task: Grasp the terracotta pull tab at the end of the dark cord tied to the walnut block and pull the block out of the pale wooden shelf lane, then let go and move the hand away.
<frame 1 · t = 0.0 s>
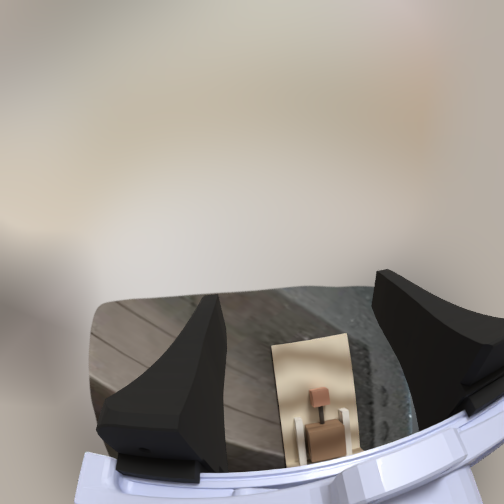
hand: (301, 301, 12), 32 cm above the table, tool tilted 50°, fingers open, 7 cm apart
walnut block: (323, 423, 34), point 3 cm above the table, slide at 0.0 cm
shelf lane: (295, 492, 32), on the table
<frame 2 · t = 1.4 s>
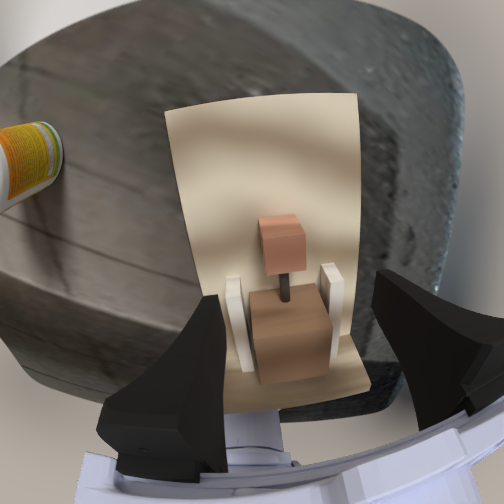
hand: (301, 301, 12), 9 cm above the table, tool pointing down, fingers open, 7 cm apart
walnut block: (287, 304, 19), point 3 cm above the table, slide at 0.0 cm
supplement bottle: (41, 154, 16), on the table
shelf lane: (241, 387, 28), on the table
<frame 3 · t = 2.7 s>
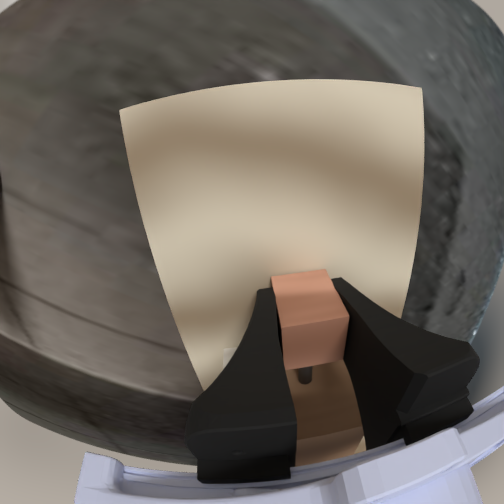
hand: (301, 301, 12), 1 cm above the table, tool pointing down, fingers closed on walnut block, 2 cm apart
walnut block: (308, 390, 12), point 3 cm above the table, slide at 0.0 cm, touching gripper
shelf lane: (244, 443, 22), on the table
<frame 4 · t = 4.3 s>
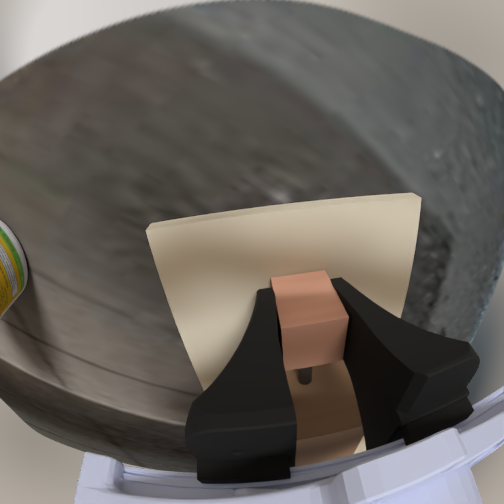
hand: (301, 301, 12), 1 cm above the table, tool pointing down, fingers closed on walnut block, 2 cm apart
walnut block: (308, 391, 12), point 3 cm above the table, slide at 4.9 cm, touching gripper
supplement bottle: (3, 253, 12), on the table
shelf lane: (250, 458, 24), on the table
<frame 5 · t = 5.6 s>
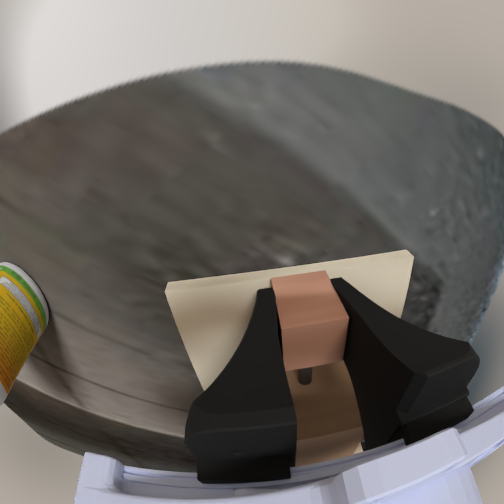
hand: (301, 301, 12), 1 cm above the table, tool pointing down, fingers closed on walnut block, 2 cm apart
walnut block: (308, 391, 12), point 3 cm above the table, slide at 7.9 cm, touching gripper
supplement bottle: (21, 294, 13), on the table
shelf lane: (253, 465, 25), on the table
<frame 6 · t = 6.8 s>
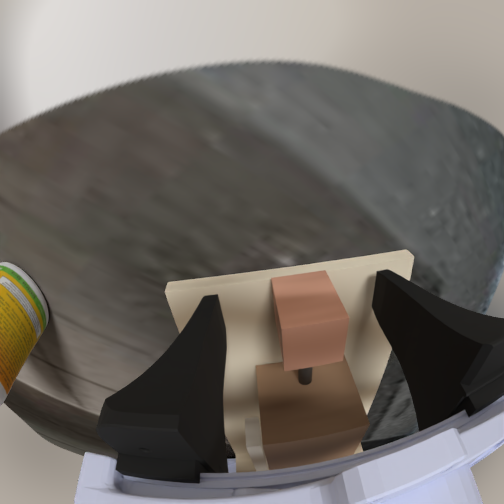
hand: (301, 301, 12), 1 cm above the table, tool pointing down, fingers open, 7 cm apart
walnut block: (308, 391, 12), point 3 cm above the table, slide at 7.9 cm
supplement bottle: (21, 294, 13), on the table
shelf lane: (253, 465, 25), on the table
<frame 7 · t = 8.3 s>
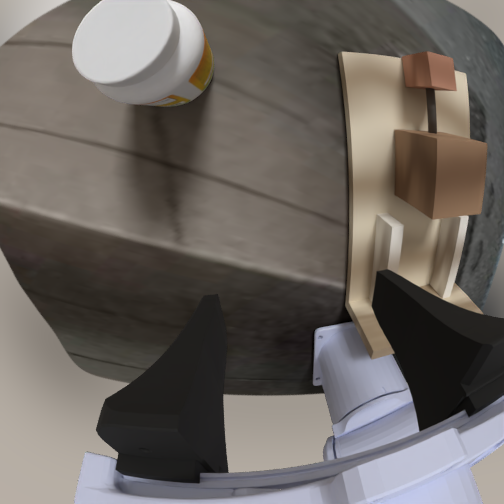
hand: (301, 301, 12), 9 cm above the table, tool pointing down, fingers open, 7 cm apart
walnut block: (440, 129, 14), point 3 cm above the table, slide at 7.9 cm
supplement bottle: (174, 70, 15), on the table
shelf lane: (349, 346, 27), on the table
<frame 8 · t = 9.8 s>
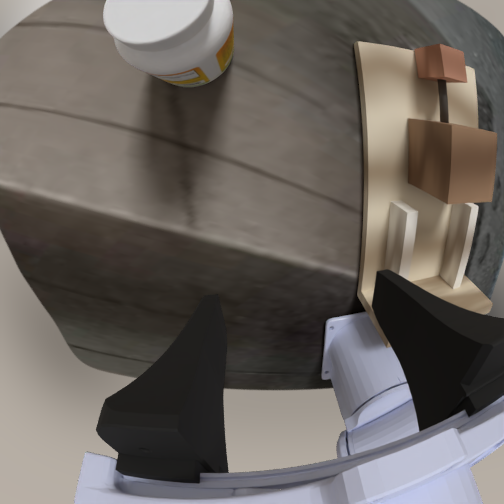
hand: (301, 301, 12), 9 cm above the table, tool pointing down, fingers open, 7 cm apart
walnut block: (452, 119, 14), point 3 cm above the table, slide at 7.9 cm
supplement bottle: (193, 52, 15), on the table
shelf lane: (359, 338, 27), on the table
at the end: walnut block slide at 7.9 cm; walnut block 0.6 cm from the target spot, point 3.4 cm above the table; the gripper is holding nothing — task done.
